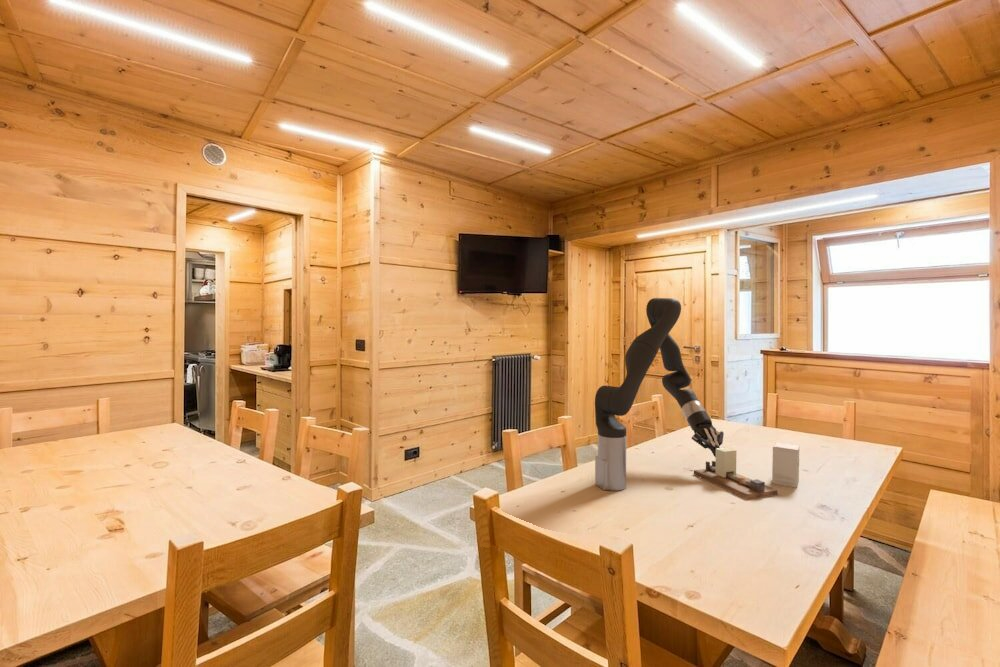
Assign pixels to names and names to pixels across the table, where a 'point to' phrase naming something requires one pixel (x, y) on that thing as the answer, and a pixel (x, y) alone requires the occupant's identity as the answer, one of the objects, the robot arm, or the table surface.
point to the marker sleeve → (725, 461)
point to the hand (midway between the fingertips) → (720, 457)
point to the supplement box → (785, 464)
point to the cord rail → (736, 483)
